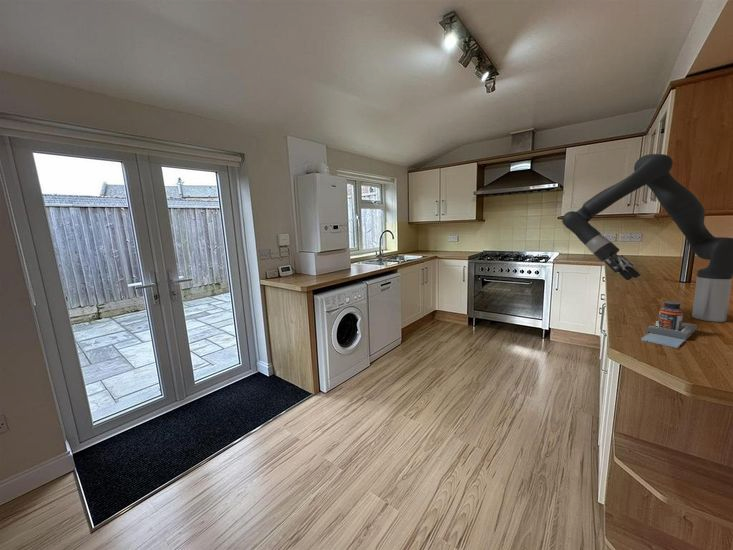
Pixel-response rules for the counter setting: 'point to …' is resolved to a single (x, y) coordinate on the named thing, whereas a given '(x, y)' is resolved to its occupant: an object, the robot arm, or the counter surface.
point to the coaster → (663, 340)
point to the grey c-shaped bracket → (674, 331)
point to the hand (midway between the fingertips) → (634, 277)
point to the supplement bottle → (670, 316)
